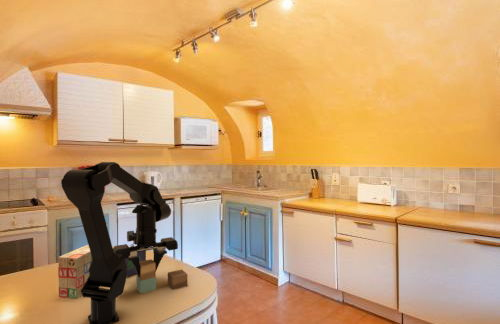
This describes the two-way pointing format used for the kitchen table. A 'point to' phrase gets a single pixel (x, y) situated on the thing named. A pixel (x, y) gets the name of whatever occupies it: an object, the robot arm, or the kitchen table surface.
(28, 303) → the kitchen table surface
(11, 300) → the kitchen table surface
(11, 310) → the kitchen table surface
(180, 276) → the walnut block
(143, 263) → the oak cube
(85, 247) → the stack of blocks
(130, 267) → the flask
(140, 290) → the tower base
